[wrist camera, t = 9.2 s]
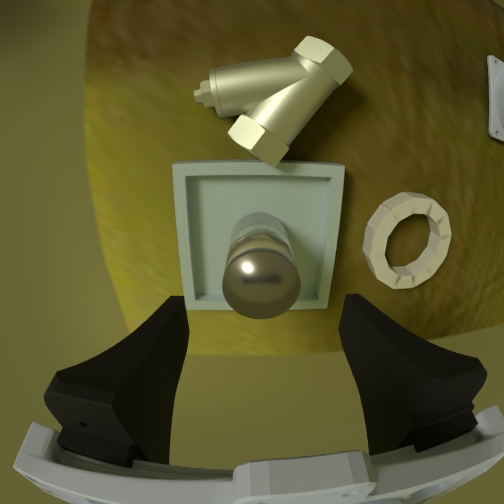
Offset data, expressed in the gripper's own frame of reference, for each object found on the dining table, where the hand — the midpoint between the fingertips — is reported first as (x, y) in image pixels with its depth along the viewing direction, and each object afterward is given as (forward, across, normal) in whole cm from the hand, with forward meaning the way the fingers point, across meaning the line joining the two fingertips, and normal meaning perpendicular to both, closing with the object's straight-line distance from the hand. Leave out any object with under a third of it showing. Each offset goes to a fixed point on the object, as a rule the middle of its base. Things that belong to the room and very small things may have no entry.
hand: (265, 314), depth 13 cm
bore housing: (+9, -12, 0) cm, 15 cm away
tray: (+9, 0, 0) cm, 9 cm away
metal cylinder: (+9, 0, 0) cm, 9 cm away
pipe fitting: (+10, 0, -10) cm, 14 cm away
